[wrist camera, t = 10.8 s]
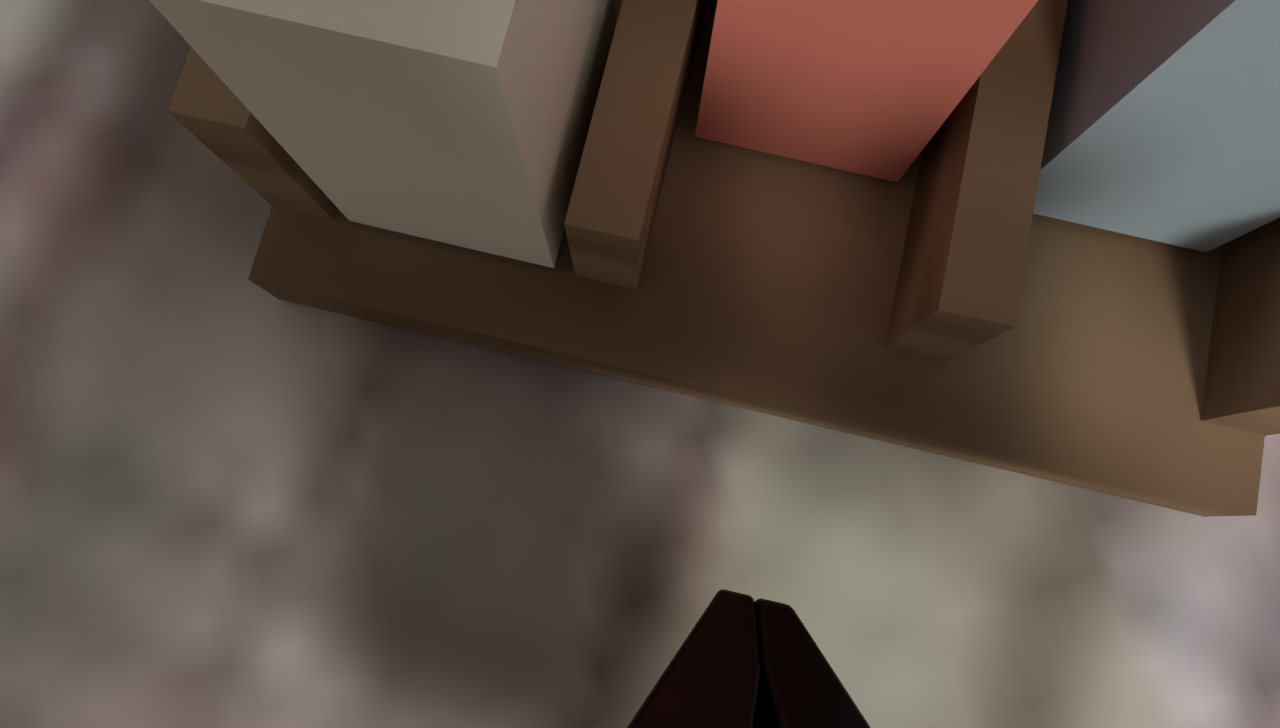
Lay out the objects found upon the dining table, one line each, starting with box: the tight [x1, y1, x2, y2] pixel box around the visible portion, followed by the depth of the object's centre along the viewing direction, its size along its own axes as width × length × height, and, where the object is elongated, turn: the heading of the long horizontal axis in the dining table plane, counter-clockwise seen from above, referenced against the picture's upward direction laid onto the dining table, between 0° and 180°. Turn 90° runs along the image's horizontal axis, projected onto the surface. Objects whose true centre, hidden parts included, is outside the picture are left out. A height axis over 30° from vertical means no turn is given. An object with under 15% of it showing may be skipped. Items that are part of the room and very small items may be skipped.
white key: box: [149, 0, 616, 268], centre depth 14 cm, size 5×4×8 cm
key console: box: [167, 0, 1280, 516], centre depth 16 cm, size 12×19×6 cm, turn 77°
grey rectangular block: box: [1033, 0, 1280, 252], centre depth 14 cm, size 5×4×8 cm
